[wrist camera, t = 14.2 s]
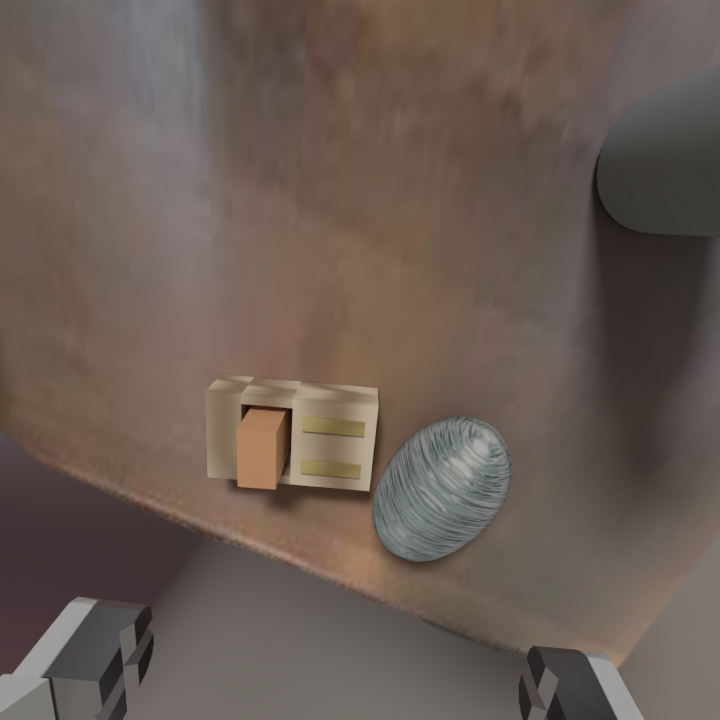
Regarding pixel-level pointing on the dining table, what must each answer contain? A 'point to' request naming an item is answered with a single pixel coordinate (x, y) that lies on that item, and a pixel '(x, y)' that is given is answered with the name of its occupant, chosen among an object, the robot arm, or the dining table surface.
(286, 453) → the orange rectangular block
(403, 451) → the spool
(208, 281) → the dining table surface
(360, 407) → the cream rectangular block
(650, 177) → the water bottle
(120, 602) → the robot arm
